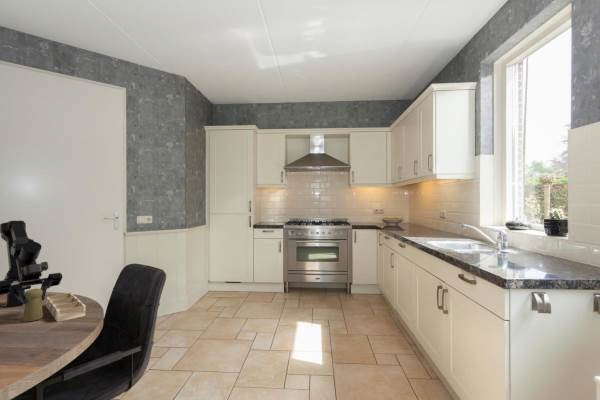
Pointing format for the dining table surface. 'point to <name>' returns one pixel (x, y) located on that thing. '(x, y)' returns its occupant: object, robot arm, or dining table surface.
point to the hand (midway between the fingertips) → (34, 301)
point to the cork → (33, 305)
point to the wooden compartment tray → (65, 307)
